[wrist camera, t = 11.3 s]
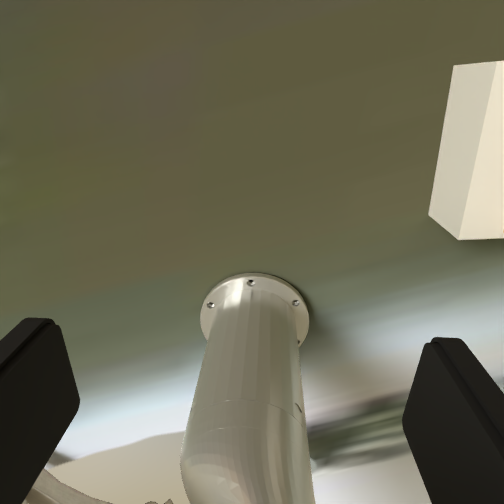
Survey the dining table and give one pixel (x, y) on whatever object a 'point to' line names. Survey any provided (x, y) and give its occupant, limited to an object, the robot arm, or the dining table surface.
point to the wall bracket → (59, 493)
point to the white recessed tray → (472, 155)
